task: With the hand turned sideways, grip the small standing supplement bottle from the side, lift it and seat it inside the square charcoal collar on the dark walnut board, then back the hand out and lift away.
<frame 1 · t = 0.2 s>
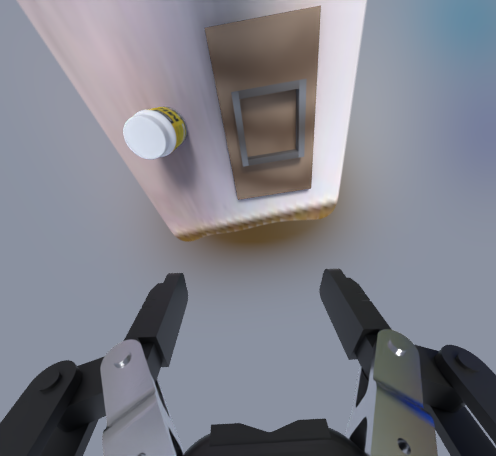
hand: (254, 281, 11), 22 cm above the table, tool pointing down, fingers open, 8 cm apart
seat board: (268, 124, 26), on the table
supplement bottle: (169, 126, 26), on the table
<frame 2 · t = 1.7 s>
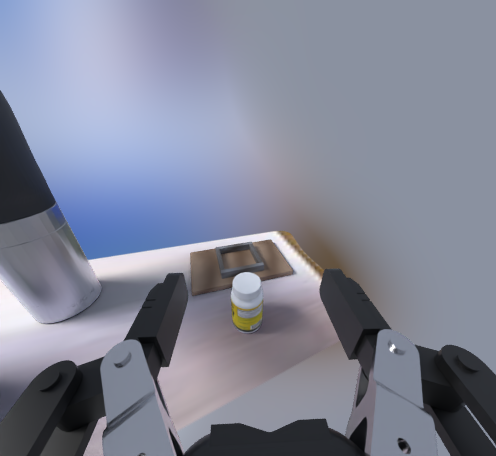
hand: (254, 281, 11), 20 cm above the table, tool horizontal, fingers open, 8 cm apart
seat board: (238, 264, 42), on the table
supplement bottle: (247, 320, 30), on the table
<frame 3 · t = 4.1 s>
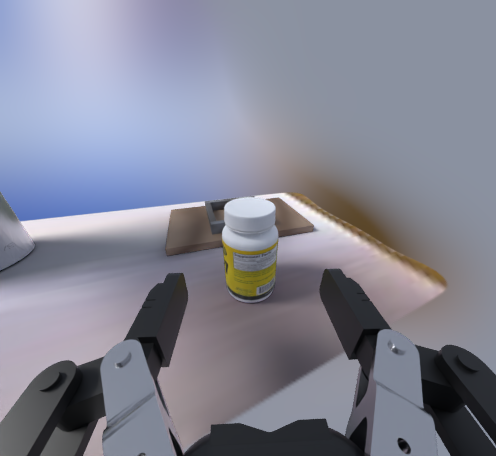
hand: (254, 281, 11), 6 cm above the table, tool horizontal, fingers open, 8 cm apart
seat board: (236, 222, 30), on the table
supplement bottle: (250, 286, 19), on the table
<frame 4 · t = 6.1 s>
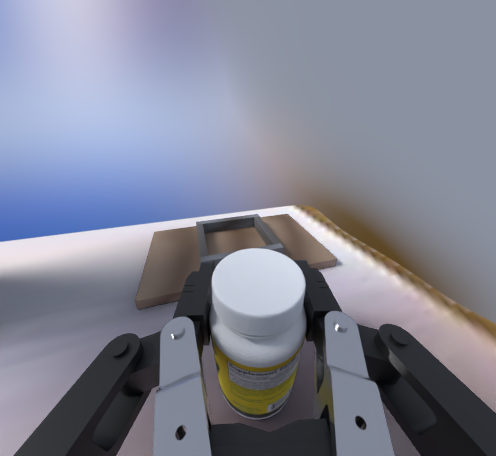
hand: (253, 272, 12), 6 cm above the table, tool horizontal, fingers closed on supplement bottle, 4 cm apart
seat board: (235, 250, 24), on the table
supplement bottle: (255, 373, 12), on the table, touching gripper
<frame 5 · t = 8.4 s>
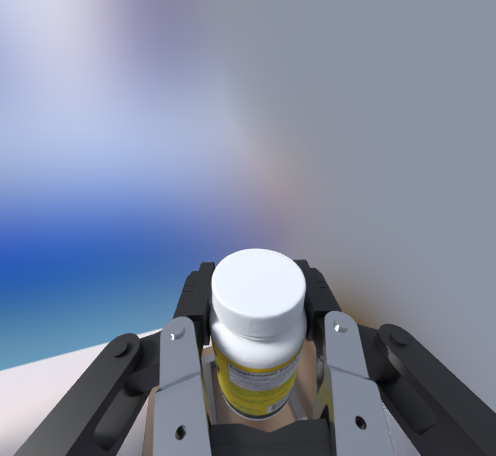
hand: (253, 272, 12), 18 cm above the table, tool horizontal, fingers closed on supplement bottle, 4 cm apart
seat board: (249, 398, 20), on the table
supplement bottle: (255, 374, 12), point 11 cm above the table, touching gripper
when the fingers open (8 cm above the table, at t = 10.9 s): supplement bottle stays where it is, resting on seat board.
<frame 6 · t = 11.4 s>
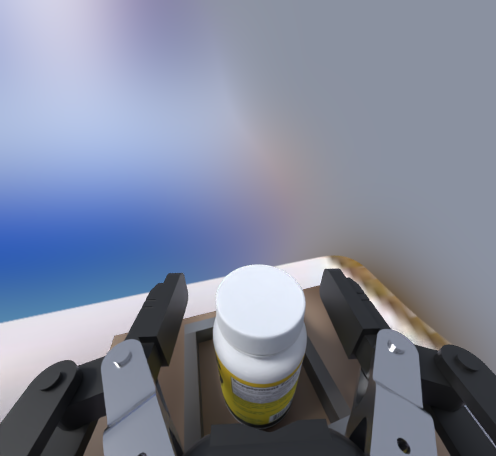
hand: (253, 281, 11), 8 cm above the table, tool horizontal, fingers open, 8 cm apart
seat board: (254, 386, 13), on the table
supplement bottle: (257, 382, 13), point 1 cm above the table, touching seat board
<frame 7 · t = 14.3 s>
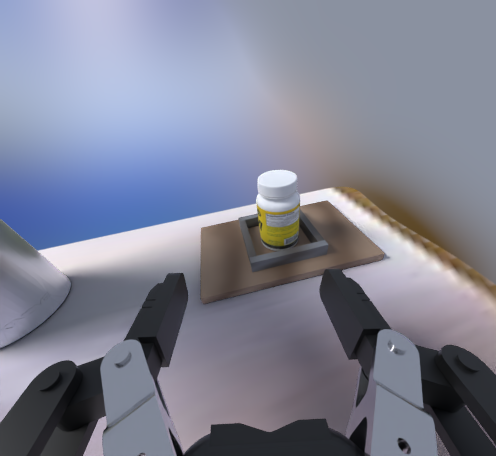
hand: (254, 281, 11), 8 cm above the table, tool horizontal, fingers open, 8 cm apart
seat board: (278, 244, 25), on the table
supplement bottle: (279, 240, 24), point 1 cm above the table, touching seat board
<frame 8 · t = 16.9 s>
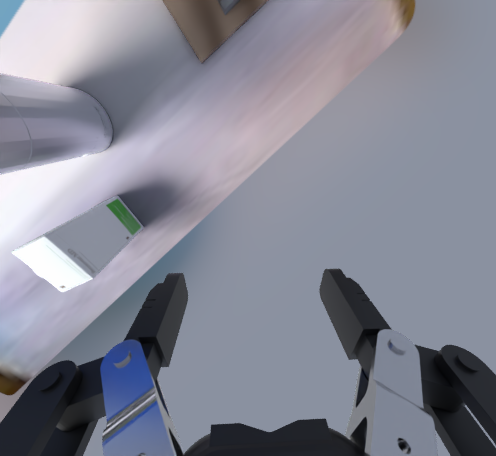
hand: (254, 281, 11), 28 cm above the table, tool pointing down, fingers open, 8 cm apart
skincare box: (119, 216, 39), on the table
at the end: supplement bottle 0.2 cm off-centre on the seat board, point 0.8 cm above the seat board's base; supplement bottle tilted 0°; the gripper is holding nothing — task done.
